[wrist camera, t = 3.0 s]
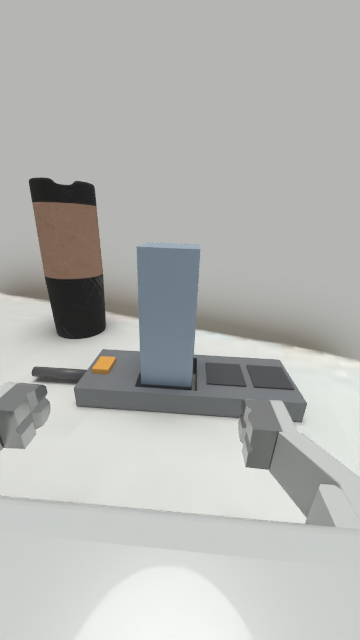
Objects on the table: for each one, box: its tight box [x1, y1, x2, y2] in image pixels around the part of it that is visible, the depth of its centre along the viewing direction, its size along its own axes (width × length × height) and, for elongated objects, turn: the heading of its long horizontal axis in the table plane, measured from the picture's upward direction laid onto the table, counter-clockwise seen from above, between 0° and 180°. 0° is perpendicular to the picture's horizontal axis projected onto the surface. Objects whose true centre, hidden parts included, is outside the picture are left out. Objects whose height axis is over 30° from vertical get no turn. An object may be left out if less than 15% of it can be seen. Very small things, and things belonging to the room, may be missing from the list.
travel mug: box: [29, 178, 106, 339], centre depth 33 cm, size 8×8×20 cm
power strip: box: [32, 349, 307, 422], centre depth 24 cm, size 26×7×2 cm, turn 86°
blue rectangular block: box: [137, 243, 200, 390], centre depth 22 cm, size 5×5×14 cm
